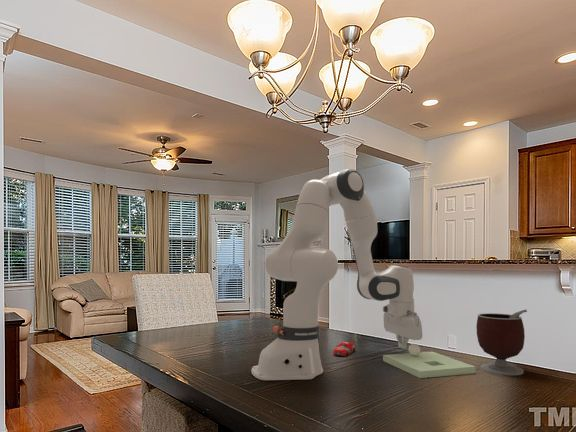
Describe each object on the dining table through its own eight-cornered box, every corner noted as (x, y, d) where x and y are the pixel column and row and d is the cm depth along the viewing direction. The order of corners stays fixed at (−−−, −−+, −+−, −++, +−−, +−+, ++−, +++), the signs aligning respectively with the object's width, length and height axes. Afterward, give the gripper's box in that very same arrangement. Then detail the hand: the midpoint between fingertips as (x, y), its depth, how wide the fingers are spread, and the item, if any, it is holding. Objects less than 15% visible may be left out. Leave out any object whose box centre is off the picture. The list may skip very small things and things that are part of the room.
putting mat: (420, 378, 126) (419, 371, 126) (383, 360, 147) (382, 355, 147) (475, 373, 132) (475, 366, 132) (432, 357, 153) (432, 351, 153)
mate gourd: (469, 368, 137) (467, 306, 139) (491, 362, 145) (488, 303, 147) (519, 380, 125) (516, 311, 127) (539, 372, 133) (536, 307, 135)
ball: (412, 357, 144) (412, 345, 144) (406, 354, 148) (406, 343, 148) (422, 356, 145) (422, 344, 145) (416, 354, 149) (415, 342, 149)
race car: (345, 358, 152) (344, 347, 152) (331, 356, 154) (331, 345, 155) (357, 351, 163) (357, 340, 164) (344, 349, 166) (344, 339, 166)
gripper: (426, 312, 146) (427, 353, 144) (394, 306, 165) (395, 342, 164) (410, 313, 144) (411, 355, 143) (380, 306, 163) (381, 343, 162)
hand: (402, 348), depth 153 cm, fingers closed
